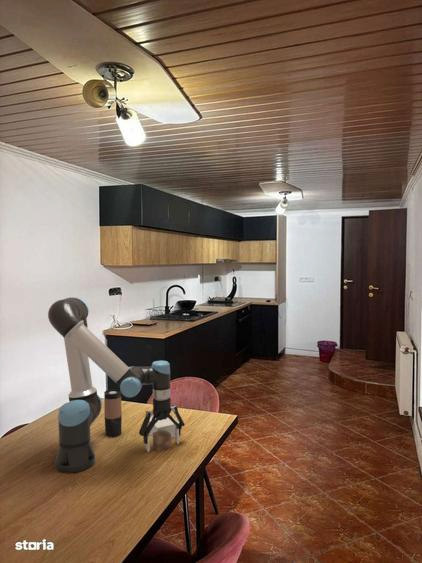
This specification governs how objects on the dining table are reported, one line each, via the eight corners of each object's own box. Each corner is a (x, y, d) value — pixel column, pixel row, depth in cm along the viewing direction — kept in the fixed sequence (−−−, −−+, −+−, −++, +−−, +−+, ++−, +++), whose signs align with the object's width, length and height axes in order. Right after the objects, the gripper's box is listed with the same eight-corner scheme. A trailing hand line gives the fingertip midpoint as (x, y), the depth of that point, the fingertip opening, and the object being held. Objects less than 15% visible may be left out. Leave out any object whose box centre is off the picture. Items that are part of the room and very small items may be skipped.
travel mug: (124, 431, 189) (123, 389, 188) (118, 438, 181) (117, 394, 180) (108, 430, 189) (107, 388, 189) (102, 437, 182) (101, 393, 181)
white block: (157, 441, 177) (157, 428, 177) (145, 430, 189) (145, 417, 189) (180, 435, 183) (179, 422, 183) (167, 425, 195) (167, 413, 195)
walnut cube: (158, 451, 168) (158, 437, 167) (153, 446, 173) (152, 432, 173) (171, 448, 171) (171, 434, 170) (165, 443, 176) (165, 429, 176)
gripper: (136, 405, 161) (138, 457, 162) (191, 394, 174) (192, 442, 175) (130, 400, 168) (131, 450, 169) (183, 390, 180) (184, 436, 181)
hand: (162, 446), depth 172 cm, fingers open, 13 cm apart
